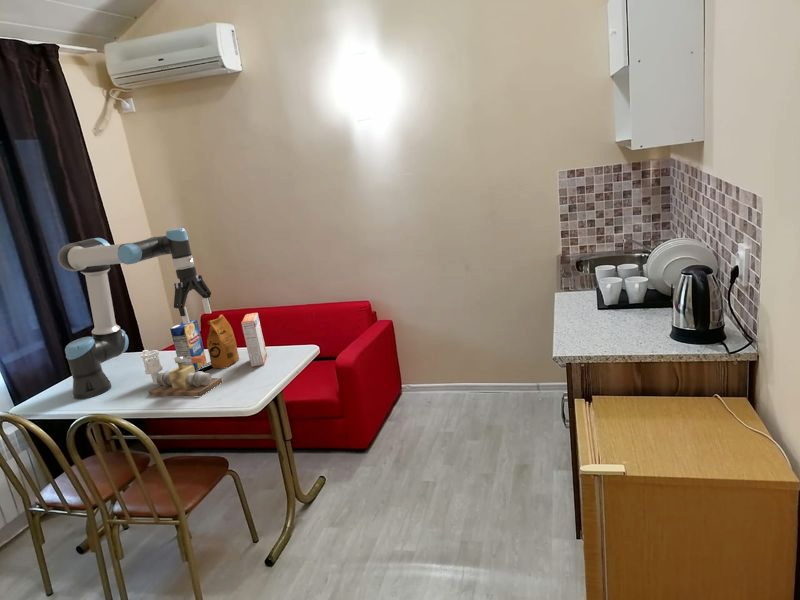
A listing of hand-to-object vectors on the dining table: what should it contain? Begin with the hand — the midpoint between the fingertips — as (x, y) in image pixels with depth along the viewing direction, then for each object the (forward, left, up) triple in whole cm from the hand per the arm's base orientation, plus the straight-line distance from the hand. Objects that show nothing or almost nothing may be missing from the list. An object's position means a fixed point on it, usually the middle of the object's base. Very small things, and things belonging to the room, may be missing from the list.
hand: (197, 318), depth 242 cm
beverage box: (-20, +13, -28) cm, 37 cm away
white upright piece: (-29, -1, -28) cm, 40 cm away
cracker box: (+7, +24, -28) cm, 38 cm away
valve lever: (-2, -7, -16) cm, 18 cm away
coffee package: (-9, +21, -28) cm, 36 cm away
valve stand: (-8, -7, -28) cm, 30 cm away
